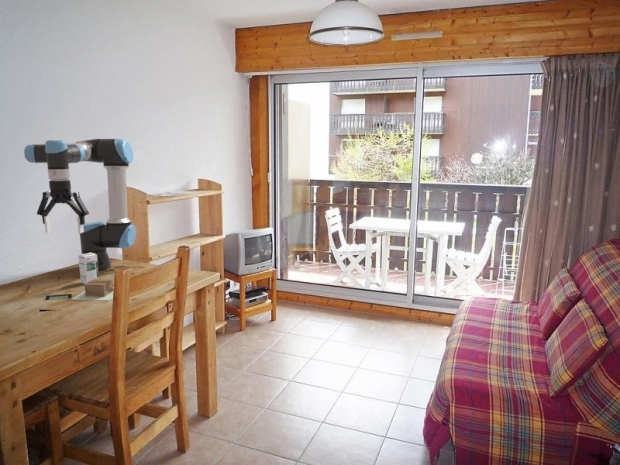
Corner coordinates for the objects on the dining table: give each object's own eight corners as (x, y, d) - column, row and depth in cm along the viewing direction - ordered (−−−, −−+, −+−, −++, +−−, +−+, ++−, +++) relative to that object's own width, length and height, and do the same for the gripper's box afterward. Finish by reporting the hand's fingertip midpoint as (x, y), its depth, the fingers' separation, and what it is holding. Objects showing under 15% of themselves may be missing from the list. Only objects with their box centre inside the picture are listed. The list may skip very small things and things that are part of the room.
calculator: (39, 312, 183) (38, 304, 182) (47, 302, 194) (46, 295, 193) (66, 310, 185) (65, 302, 185) (72, 300, 196) (71, 293, 196)
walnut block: (95, 290, 204) (94, 278, 203) (113, 290, 203) (112, 279, 202) (85, 296, 196) (84, 284, 195) (104, 296, 196) (103, 284, 195)
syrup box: (87, 288, 211) (84, 256, 209) (80, 285, 215) (77, 254, 212) (99, 285, 216) (97, 253, 213) (92, 282, 219) (90, 251, 217)
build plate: (91, 290, 208) (90, 287, 208) (127, 291, 207) (126, 288, 207) (70, 302, 193) (70, 299, 192) (109, 303, 192) (109, 300, 191)
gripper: (23, 180, 187) (29, 233, 191) (85, 181, 185) (90, 234, 190) (35, 178, 194) (40, 229, 199) (94, 179, 193) (99, 230, 197)
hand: (64, 232), depth 194 cm, fingers open, 13 cm apart
